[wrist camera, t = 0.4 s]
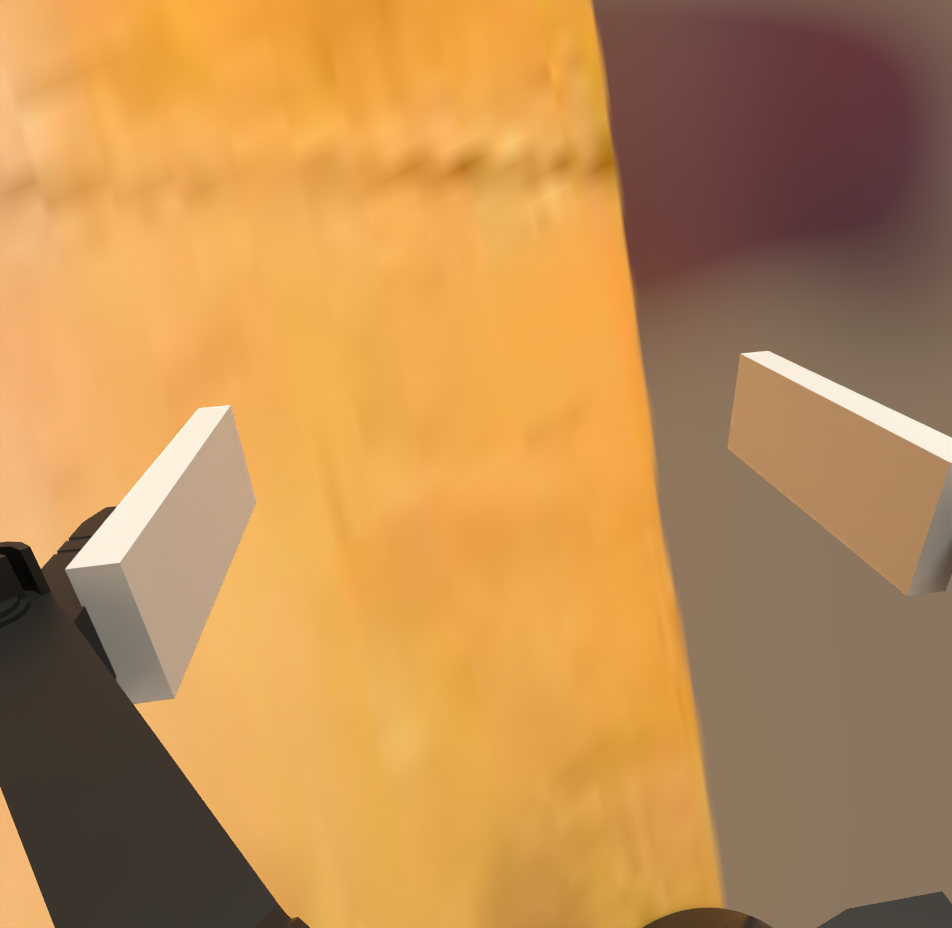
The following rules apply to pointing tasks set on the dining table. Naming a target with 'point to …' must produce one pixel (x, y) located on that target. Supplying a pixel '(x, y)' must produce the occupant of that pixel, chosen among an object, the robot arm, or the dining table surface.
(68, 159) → the dining table surface
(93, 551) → the robot arm
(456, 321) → the dining table surface
